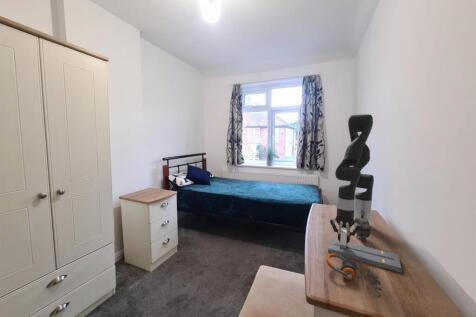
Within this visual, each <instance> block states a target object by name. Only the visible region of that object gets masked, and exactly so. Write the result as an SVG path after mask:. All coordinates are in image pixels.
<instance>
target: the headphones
mask: <svg viewBox="0 0 476 317" xmlns="http://www.w3.org/2000/svg"><path fill="white" fill-rule="evenodd" d="M331 258H338V259H341V261H342V262H341V263H342V264H341V265H342V266H341V268H340V269H338V268H336V266H334V265H333V263H332V262H331V261H330V259H331ZM325 261H326V264H327V266H328V267H329V268H330V269H331V270H333V271H335V273H338V274H340V275H342V276H343V278H345V279H346V280H348V281H353V280H354V279H356V276H357V270H358V272H359V273H360V274H362V276H363V277H358V279H363V280H364V282H365V288H366V290H367V291H368V292H369V293H370V294H371V295H373V296H376V297H381V296H380V295H382V294H381V293H380V292H379V291H383V289H382V288H380V287H378V286H377V285H382V284H381V281H380V280H378V278H379V277H378V275H377V274H375V273H373V272H371V269H370V267H368V272H369V273H370V274H368V277H369V278H371V280H370V281H367V278H366V277H365V275H364V274H363V273H362V272H361V271H360V269H359V268H358V267H357V264H356V262H355V260H354V259H350V258H347V257H343V256H340V255H337V254H333V253H328V254H327V256H326V258H325ZM368 283H369V284H371V286H372V289H373V290H374V291H375V292H377V293H378V294H379V295H376V294H374V293H372V291H370V290H369V289H368ZM376 289H377V290H376ZM378 290H379V291H378Z"/></svg>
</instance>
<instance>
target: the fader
mask: <svg viewBox="0 0 476 317" xmlns="http://www.w3.org/2000/svg"><path fill="white" fill-rule="evenodd" d="M346 240H347V229H341V239H340V245H339V247H342V248H347V243H346Z"/></svg>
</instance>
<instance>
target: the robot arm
mask: <svg viewBox="0 0 476 317" xmlns="http://www.w3.org/2000/svg"><path fill="white" fill-rule="evenodd" d="M347 121H348V122H347V126H348V133H349V138H350V143H349V144H348V146H347V147H346V149H345V152H344V156H343V158H342V160H341V162H340V163H339V164H338V165H337V168H336V170H335V172H334V173H335V174H334V175H335V178H336V179H337V180H338V181H343V182H345V181H346V182H350V183H349V184H345V185H344V184H343V185H339V187H338V195H337V204H336V216H335V218H330V219H329V223H330V225H331V227H332V230H333V232H334V233H337V240H339V241H340V239H341V230H343V229H345V230H347V240H346V243H351V242H350V241H351V236H353V237H355V235H357V234H356V232H357V231H358V230H359V228H360V224H357V223H355V219H356V217H361V213H362V215H363V211H364V215H363V217H366V218H367V220H368V222H369V225H370V226H371V219H372V218H371V217H372V202H373V191H374V190H373V189H374V181H375V177H374V176H373V174H367V173H361V171H362V170H363V169H364V167H366V166H367V165H368V164H369V162H370V160H371V149H370V147H369V146H368V145H367V140H368V138H369V136H370V134H371V132H372V128H373V125H374V118H373V115H372V114H369V113H368V114H365V113H363V114H351V115H350V116H349V118H348V120H347ZM359 133H360V134H359ZM357 188H358V189H363V190H364V189H365V190H364V191H362V192H361V191H360V192H357V193H356V189H357ZM361 210H363V211H362V212H361ZM336 223H337V225H338V228H337V225H336ZM354 225H355V226H354ZM352 226H354V227H353V228H354V229H352V231H351V227H352Z"/></svg>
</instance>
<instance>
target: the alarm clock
mask: <svg viewBox="0 0 476 317" xmlns="http://www.w3.org/2000/svg"><path fill="white" fill-rule="evenodd" d="M362 211H363V210H361V212H362ZM363 215H364V211H363ZM363 215H362V213H361V217H356V219H355V223H357V224H360V228H359V230H358V231H357V232H356V234H355V235H356V236H355V238H356V239H357V238H363V239H364V242H365V243H367V239H369V238H370V235H371V224H370V225H369V222H368V220H367V218H366V217H363ZM353 226H355V225H353Z"/></svg>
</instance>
